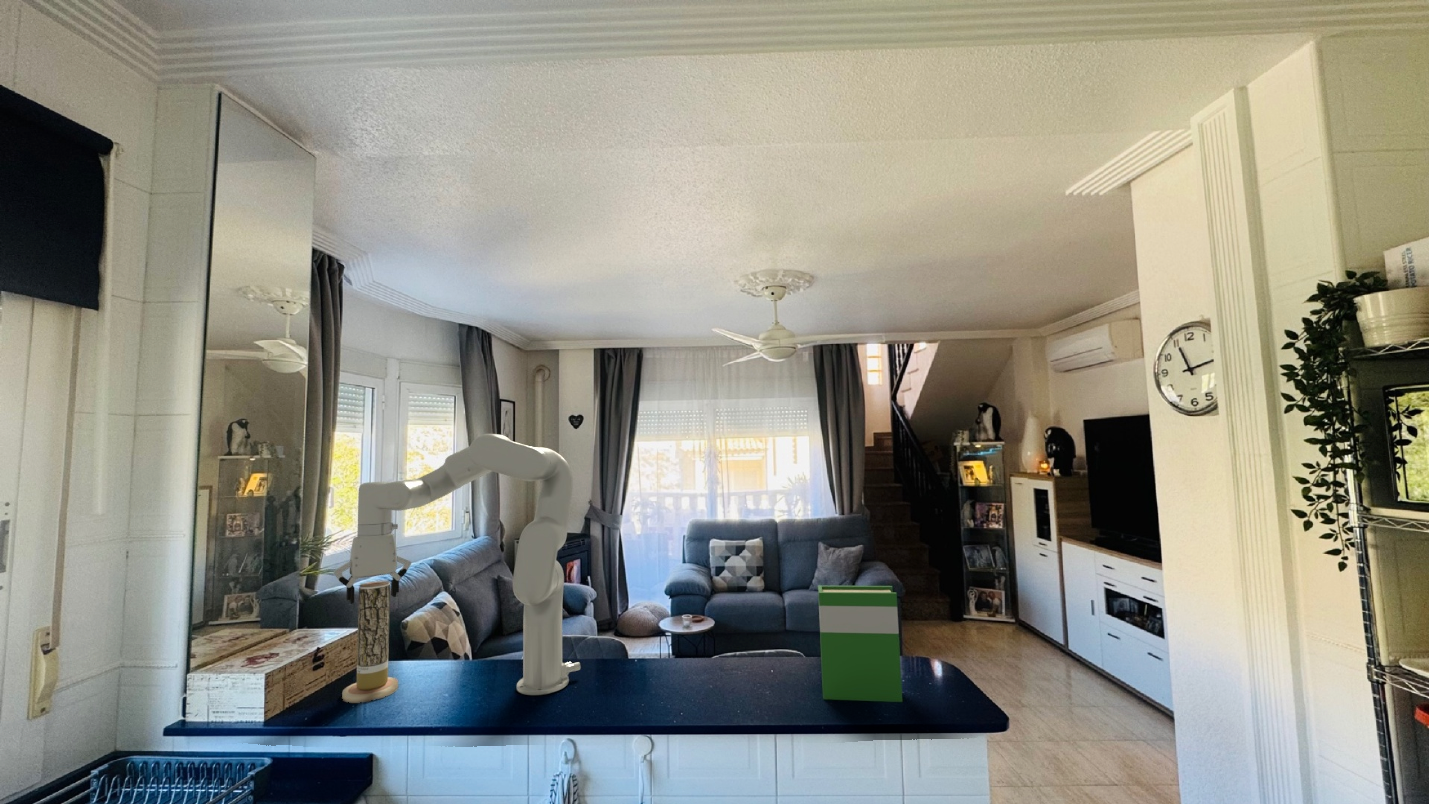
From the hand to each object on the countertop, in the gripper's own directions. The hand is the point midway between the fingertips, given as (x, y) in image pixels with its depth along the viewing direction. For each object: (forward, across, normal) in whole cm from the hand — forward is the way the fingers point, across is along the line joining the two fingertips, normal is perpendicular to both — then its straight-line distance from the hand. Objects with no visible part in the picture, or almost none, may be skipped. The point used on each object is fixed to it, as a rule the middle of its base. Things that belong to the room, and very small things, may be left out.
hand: (373, 599), depth 147 cm
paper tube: (+21, 0, 0) cm, 21 cm away
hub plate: (+23, 0, 0) cm, 23 cm away
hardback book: (+23, -88, +83) cm, 123 cm away
